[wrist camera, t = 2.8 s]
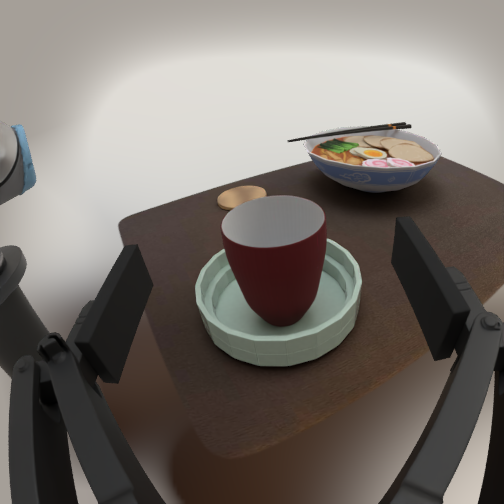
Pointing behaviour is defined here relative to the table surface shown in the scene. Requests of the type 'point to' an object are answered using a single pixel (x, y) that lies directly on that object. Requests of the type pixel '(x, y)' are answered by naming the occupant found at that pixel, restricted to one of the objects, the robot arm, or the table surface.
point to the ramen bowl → (372, 156)
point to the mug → (276, 254)
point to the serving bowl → (274, 337)
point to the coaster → (239, 196)
